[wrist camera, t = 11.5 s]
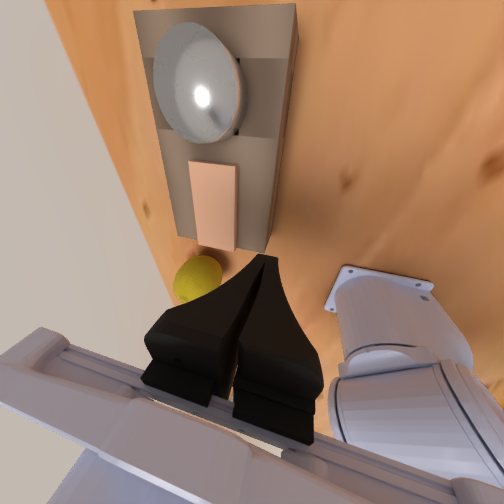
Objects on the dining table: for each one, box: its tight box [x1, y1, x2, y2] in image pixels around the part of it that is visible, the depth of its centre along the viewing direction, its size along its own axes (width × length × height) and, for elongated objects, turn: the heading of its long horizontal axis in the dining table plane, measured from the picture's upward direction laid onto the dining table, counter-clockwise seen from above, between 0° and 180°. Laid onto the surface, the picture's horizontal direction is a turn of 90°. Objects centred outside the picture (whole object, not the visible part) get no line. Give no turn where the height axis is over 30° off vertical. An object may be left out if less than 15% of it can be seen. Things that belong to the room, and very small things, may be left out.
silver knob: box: [153, 22, 248, 143], centre depth 13 cm, size 5×5×6 cm
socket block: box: [133, 3, 299, 253], centre depth 16 cm, size 10×16×4 cm, turn 176°
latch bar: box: [188, 160, 238, 252], centre depth 17 cm, size 8×4×1 cm, turn 176°
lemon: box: [173, 255, 222, 304], centre depth 23 cm, size 6×6×8 cm
